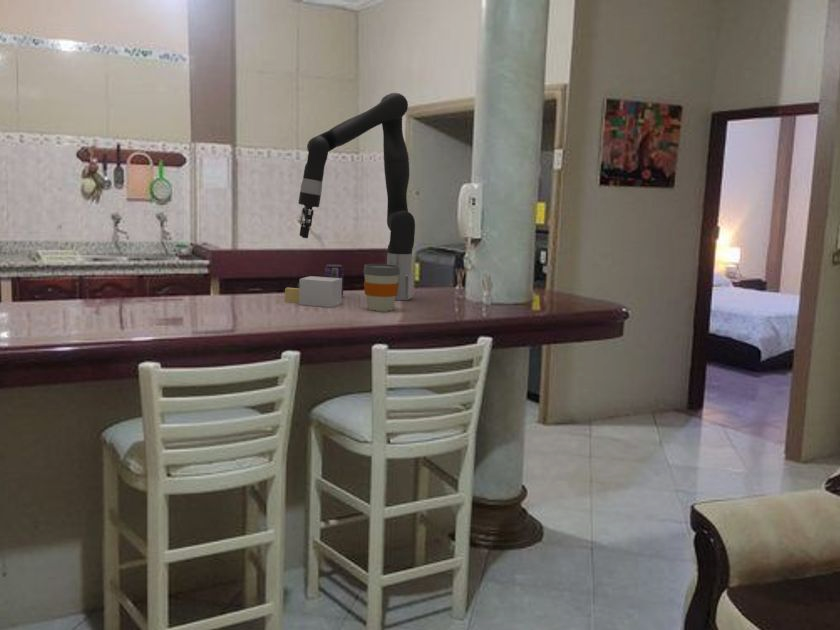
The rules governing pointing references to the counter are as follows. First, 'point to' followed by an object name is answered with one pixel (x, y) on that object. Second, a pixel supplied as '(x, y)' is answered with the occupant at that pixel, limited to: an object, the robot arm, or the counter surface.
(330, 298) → the light grey block
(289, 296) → the yellow sponge block
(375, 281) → the reusable coffee cup
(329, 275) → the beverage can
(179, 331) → the counter surface
